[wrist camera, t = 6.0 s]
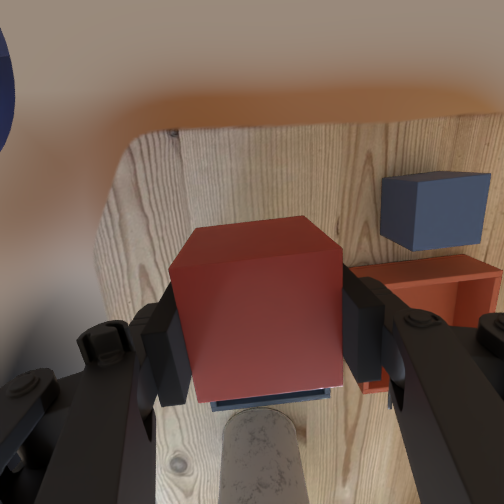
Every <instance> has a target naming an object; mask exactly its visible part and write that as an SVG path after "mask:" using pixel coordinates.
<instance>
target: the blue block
mask: <svg viewBox="0 0 504 504" xmlns="http://www.w3.org/2000/svg"><path fill="white" fill-rule="evenodd" d="M490 179H491V173H474V172H451V171H436V172H428V173H419V174H411V175H403V176H394V177H386V178H382V195H381V222H380V235H382V236H384V237H386V238H388V239H390V240H392V241H393V242H395V243H397V244H399V245H401V246H403V247H405V248H407V249H409V250H411V251H422V250H430V249H438V248H447V247H455V246H464V245H472V244H480V241H481V235H482V229H483V222H484V216H485V210H486V204H487V197H488V191H489V185H490Z"/></svg>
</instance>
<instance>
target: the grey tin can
mask: <svg viewBox="0 0 504 504" xmlns="http://www.w3.org/2000/svg"><path fill="white" fill-rule="evenodd" d="M222 440H223V443H222V457H221V471H220V485H219V499H218V504H310V503H309V498H308V493H307V488H306V483H305V478H304V473H303V468H302V463H301V458H300V452H299V447H298V442H297V437H296V429H295V426H294V424H293V423H292V421H291V420H290V419H289V418H288V417H287V416H286V415H285V414H283V413H281V412H279V411H276V410H273V409H269V408H253V409H249V410H245V411H243V412H241V413H238V414H237V415H235V416H234V417H233V418H231V419H230V420H229V422H228V423H227V424H226V426H225V428H224V430H223V435H222Z"/></svg>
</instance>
